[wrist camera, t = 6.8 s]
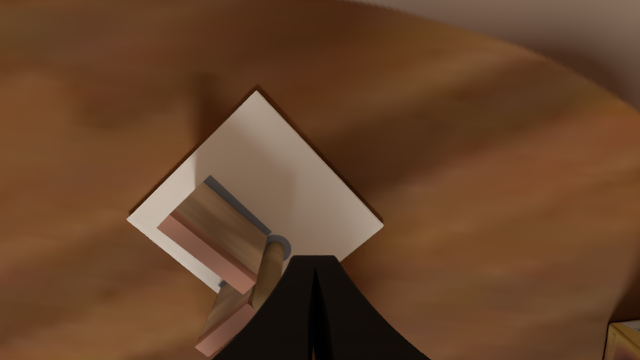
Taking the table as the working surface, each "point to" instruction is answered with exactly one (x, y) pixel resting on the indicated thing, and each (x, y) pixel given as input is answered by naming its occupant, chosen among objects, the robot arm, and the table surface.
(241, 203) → the card
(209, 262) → the folding panel
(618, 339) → the candy box
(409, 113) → the table surface
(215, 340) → the fixed panel
